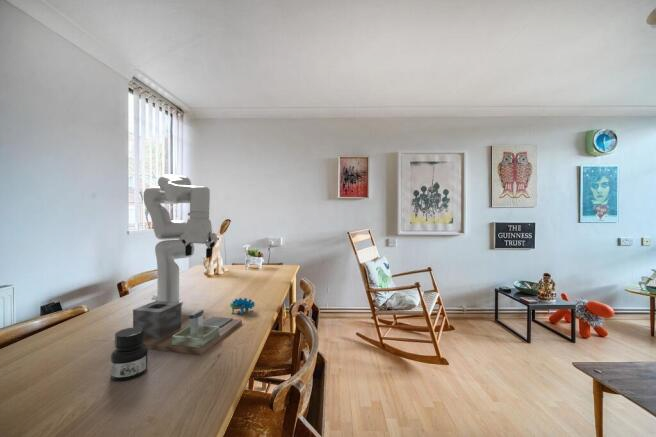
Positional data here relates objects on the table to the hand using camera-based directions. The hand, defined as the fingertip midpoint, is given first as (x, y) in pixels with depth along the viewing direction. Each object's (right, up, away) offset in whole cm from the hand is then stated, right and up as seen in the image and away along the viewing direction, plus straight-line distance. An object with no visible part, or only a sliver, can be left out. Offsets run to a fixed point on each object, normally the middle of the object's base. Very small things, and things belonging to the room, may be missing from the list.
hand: (198, 256), depth 128 cm
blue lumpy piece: (+15, -28, +12) cm, 34 cm away
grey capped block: (+8, -26, -22) cm, 35 cm away
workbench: (0, -28, -13) cm, 30 cm away
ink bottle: (-2, -29, -41) cm, 50 cm away
